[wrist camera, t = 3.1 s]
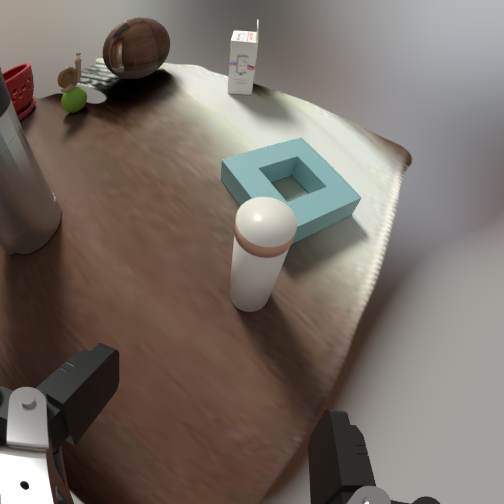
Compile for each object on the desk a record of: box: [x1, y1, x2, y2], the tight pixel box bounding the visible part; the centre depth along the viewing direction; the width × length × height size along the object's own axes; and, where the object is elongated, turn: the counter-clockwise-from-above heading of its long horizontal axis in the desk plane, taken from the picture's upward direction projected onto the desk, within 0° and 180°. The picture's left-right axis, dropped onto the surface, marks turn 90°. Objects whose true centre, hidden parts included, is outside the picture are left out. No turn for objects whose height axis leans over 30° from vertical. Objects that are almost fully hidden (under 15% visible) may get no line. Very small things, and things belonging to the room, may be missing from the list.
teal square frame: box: [221, 138, 361, 244], centre depth 35 cm, size 12×12×4 cm
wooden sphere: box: [103, 18, 170, 79], centre depth 46 cm, size 15×15×15 cm
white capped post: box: [229, 197, 297, 312], centre depth 24 cm, size 4×4×12 cm
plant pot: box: [2, 63, 36, 121], centre depth 39 cm, size 13×13×12 cm
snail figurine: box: [58, 53, 87, 113], centre depth 40 cm, size 5×6×12 cm
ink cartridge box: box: [228, 20, 259, 95], centre depth 46 cm, size 9×5×15 cm, turn 0°
